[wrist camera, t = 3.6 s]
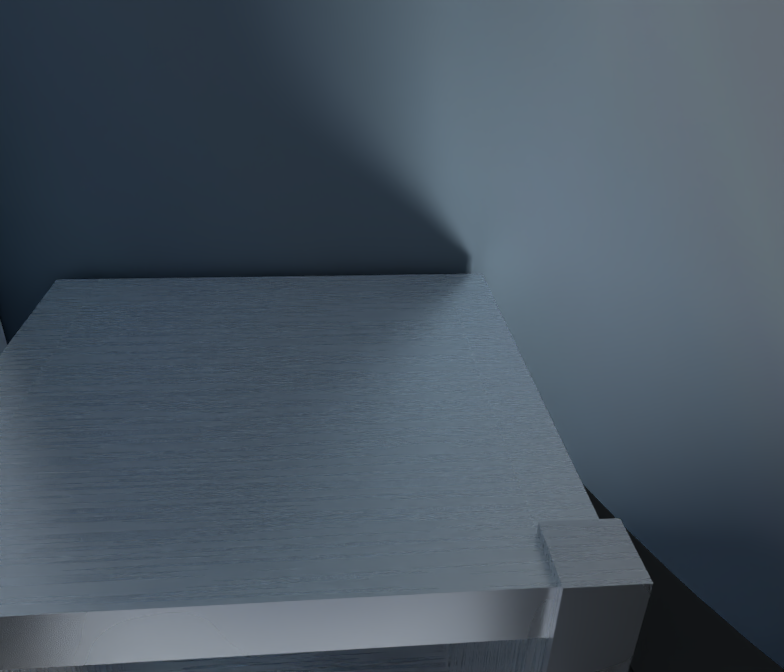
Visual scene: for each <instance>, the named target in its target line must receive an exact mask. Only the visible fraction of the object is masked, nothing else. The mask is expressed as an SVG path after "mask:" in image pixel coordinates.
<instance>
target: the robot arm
mask: <svg viewBox="0 0 784 672" xmlns="http://www.w3.org/2000/svg"><path fill="white" fill-rule="evenodd" d="M583 486H584V485H583ZM584 488H585V490H586V492H587V494H588V496H589V499H590V501H591V503H592V505H593V507H594V509H595V511H596V513H597V515H598V517H599V519H612V518H615V517H614V516H613V515H612V514H611V513H610V512H609V511H608V510H607V509H606V508H605V507H604V506H603V505H602V504H601V503H600V501H599V500H598V499H597V498H596V497H595V496H594V495H593V494H592V493H591V492H590V491H589V490H588V489H587V488H586V487H585V486H584ZM625 529H626V528H625ZM626 531H627V533H628V535H629V537H630V539H631V541H632V543H633V545H634V547H635V549H636V551H637V553H638V555H639V556H640V558H641V560H642V562H643V564H644V566H645V568H646V570H647V572H648V574H649V576H650V578H651V580H652V582H653V586H652V590H651V593H650V597H649V600H648V604H647V607H646V611H645V614H644V618H643V621H642V625H641V629H640V632H639V636H638V639H637V643H636V646H635V650H634V653H633V657H632V660H631V664H630V667H629V671H628V672H784V669H782V668H781V667H780V666H779V665H777V664H776V663H775V662H774V661H772V660H771V659H770V658H769V657H768V656H766V655H765V654H764V653H763V652H761V651H760V650H759V649H758V648H757V647H755V646H754V645H753V644H752V643H751V642H749V641H748V640H747V639H746V638H745V637H743V636H742V635H741V634H740V633H739V632H738V631H737V630H735V629H734V628H733V627H732V626H731V625H730V624H728V623H727V622H726V621H725V620H724V619H723V618H722V617H720V616H719V615H718V614H717V613H716V612H715V611H714V610H712V609H711V608H710V607H709V606H708V605H707V604H706V603H704V602H703V601H702V600H701V599H700V598H699V597H697V596H696V595H695V594H694V593H693V592H692V591H691V590H690V589H689V588H688V587H686V586H685V585H684V584H683V583H682V582H681V581H680V580H679V579H678V578H677V577H676V576H675V575H674V574H672V573H671V572H670V571H669V570H668V569H667V568H666V567H665V566H664V565H663V564H662V563H661V562H660V561H659V560H658V559H657V558H656V557H655V556H654V555H653V554H652V553H651V552H650V551H649V550H648V549H647V548H645V547H644V546H643V545H642V544H641V543H640V542H639V541H638V540H637V539H636V538H635V537H634V536H633V535H632V534H631V533H630V532H629V531H628V530H627V529H626Z"/></svg>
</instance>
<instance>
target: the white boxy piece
mask: <svg viewBox="0 0 784 672" xmlns="http://www.w3.org/2000/svg"><path fill="white" fill-rule="evenodd" d="M652 586H653V582H652V580H651V578H650V576H649V574H648V572H647V570H646V568H645V566H644V564H643V562H642V560H641V558H640V556H639V555H638V553H637V551H636V549H635V547H634V545H633V543H632V541H631V539H630V537H629V535H628V533H627V531H626V529H625V527H624V525H623V523H622V521H621V519H620V518H612V519H599V517H598V515H597V513H596V511H595V509H594V507H593V505H592V503H591V501H590V499H589V496H588V494H587V492H586V490H585V488H584V486H583V484H582V482H581V480H580V478H579V475H578V473H577V471H576V469H575V467H574V465H573V463H572V461H571V459H570V457H569V455H568V452H567V450H566V448H565V446H564V444H563V442H562V440H561V438H560V436H559V434H558V431H557V429H556V427H555V425H554V423H553V421H552V419H551V417H550V415H549V413H548V410H547V408H546V406H545V404H544V402H543V400H542V398H541V396H540V394H539V392H538V390H537V387H536V385H535V383H534V381H533V379H532V377H531V375H530V373H529V371H528V369H527V366H526V364H525V362H524V360H523V358H522V356H521V354H520V352H519V350H518V348H517V345H516V343H515V341H514V339H513V337H512V335H511V333H510V331H509V329H508V327H507V324H506V322H505V320H504V318H503V316H502V314H501V312H500V310H499V308H498V306H497V304H496V301H495V299H494V297H493V295H492V293H491V291H490V289H489V287H488V285H487V283H486V280H485V278H484V276H483V274H421V275H348V276H275V277H202V278H129V279H57V280H56V281H55V283H54V284H53V285H52V287H51V288H50V289H49V291H48V292H47V293H46V295H45V296H44V297H43V299H42V300H41V301H40V303H39V304H38V305H37V307H36V308H35V309H34V311H33V312H32V313H31V315H30V316H29V317H28V319H27V320H26V321H25V322H24V324H23V325H22V326H21V328H20V329H19V330H18V332H17V333H16V334H15V336H14V337H13V338H12V340H11V341H10V342H9V344H8V345H7V346H6V348H5V349H4V350H3V352H2V353H1V354H0V672H628V671H629V667H630V664H631V660H632V657H633V653H634V650H635V646H636V643H637V639H638V636H639V632H640V629H641V625H642V621H643V618H644V614H645V611H646V607H647V604H648V600H649V597H650V593H651V590H652Z"/></svg>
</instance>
